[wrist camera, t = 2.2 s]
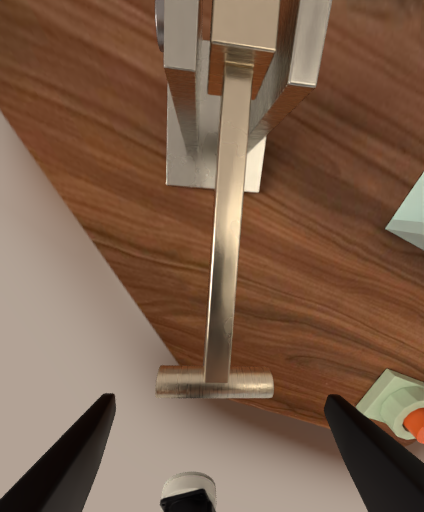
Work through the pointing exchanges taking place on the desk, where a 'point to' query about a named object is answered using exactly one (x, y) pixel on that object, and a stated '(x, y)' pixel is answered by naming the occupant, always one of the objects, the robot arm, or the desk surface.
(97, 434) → the robot arm
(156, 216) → the desk surface
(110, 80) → the desk surface
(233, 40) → the lever
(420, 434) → the button
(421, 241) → the right angle wall
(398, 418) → the control block
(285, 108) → the bracket
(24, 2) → the desk surface
